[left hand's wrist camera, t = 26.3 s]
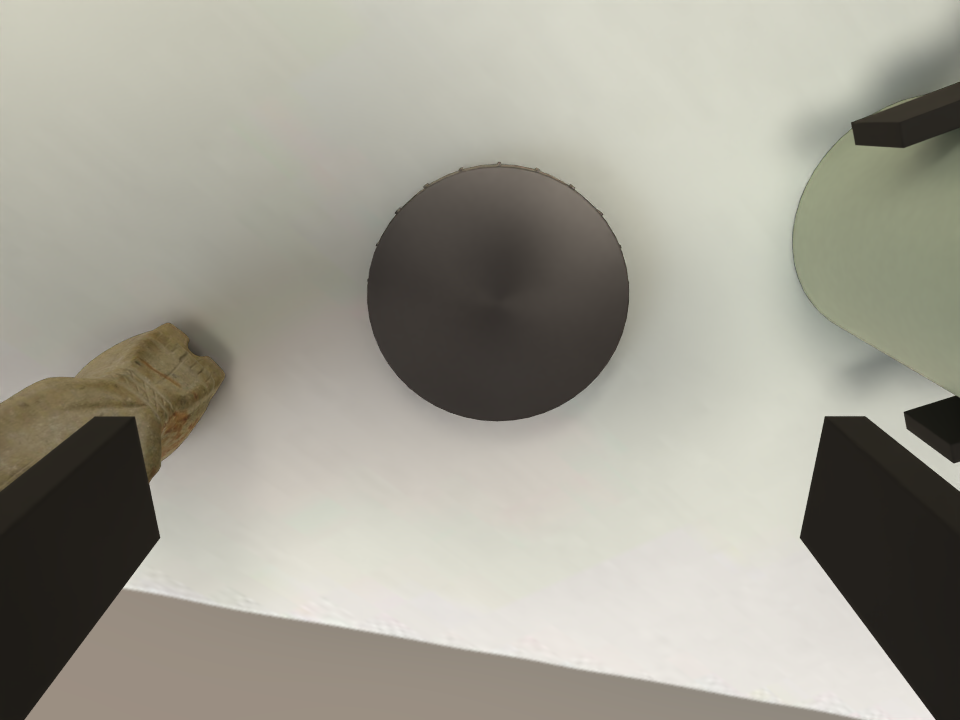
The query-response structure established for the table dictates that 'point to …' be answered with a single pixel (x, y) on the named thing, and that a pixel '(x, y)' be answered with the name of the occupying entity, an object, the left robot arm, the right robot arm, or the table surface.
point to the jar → (888, 249)
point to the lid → (498, 292)
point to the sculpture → (113, 400)
